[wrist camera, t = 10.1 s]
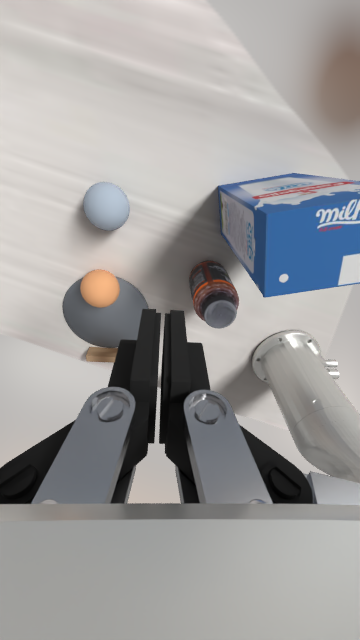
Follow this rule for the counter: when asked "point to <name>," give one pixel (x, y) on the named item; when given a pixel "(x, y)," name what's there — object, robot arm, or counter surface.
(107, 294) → the orange ball
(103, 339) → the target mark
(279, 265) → the milk carton
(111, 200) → the light blue ball
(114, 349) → the rail
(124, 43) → the counter surface
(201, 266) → the supplement bottle
